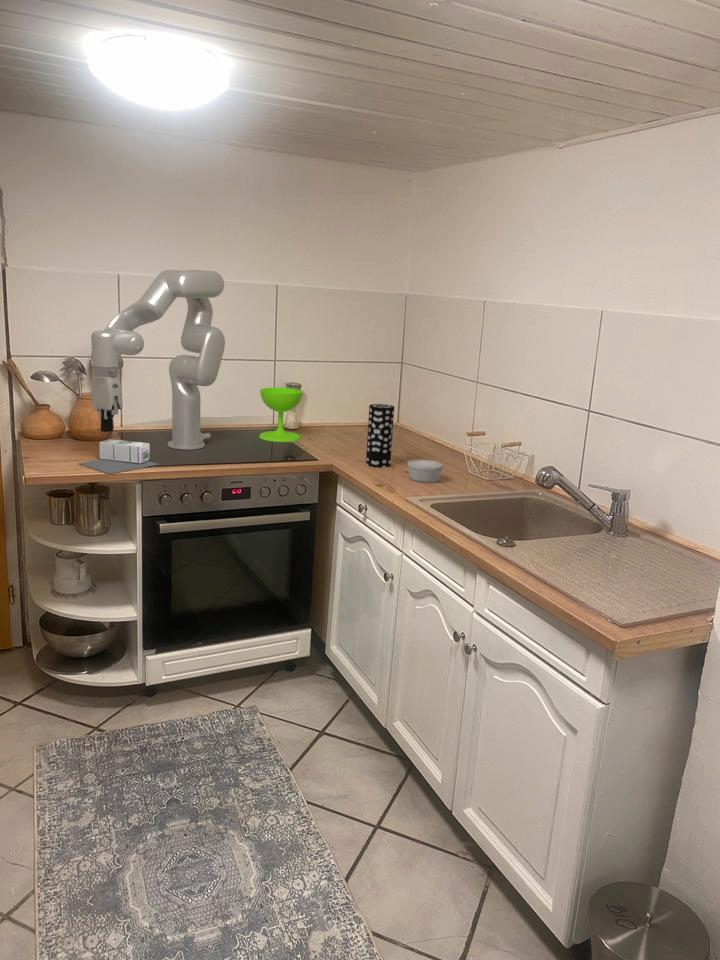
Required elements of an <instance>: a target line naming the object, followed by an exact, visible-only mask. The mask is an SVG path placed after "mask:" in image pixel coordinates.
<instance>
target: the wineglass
mask: <svg viewBox="0 0 720 960" xmlns="http://www.w3.org/2000/svg"><path fill="white" fill-rule="evenodd" d="M259 391H260V397H261V399H262V402H263V404H265V406H266V407H268V408H269V409H270V410H272V411H275V412H278V413H277V414H278V415H277V416H278V417H277V429H276V430H271V431H263V432H261V433H260V434H259V436H258V437H259V439H261V440H264V441H269V442H278V443H290V442H297V441H300V440H301V439H302V437H301V435H299V433H296V432H292V431H286V430H285V429H284V413H285V412H290V411H291V410H293V409H295V408H296V407H297V406H298V405H299V403H300V402H301V400H302V398H303V391H302V390H301V389H298V388H297V389H296V388H290V387H289V388H288V387H265V388H260V390H259Z"/></svg>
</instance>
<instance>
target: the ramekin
mask: <svg viewBox="0 0 720 960" xmlns="http://www.w3.org/2000/svg"><path fill="white" fill-rule="evenodd" d="M407 468H408V469H407V470H408V477H409V479H410V480H411V481H413V482H417V483H422V484H423V483H424V484H426V483H427V484H433V483H437V482H438V481H439V480H440V478H441V475H442V470H443V464H442V463H441V462H439V461H436V460H430V459H429V460H427V459H413V460H408V461H407Z"/></svg>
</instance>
